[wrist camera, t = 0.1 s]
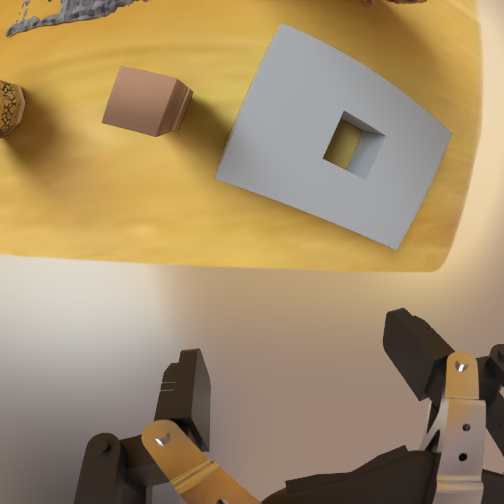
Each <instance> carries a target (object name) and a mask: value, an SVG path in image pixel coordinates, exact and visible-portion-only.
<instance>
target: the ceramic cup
mask: <svg viewBox="0 0 504 504" xmlns="http://www.w3.org/2000/svg"><path fill="white" fill-rule="evenodd" d="M25 104H26V102H25V99H24V96H23V93H22V89H21V87H20V86H18V85H15V84H11V83H8V82H4V81H0V138H2V137H4V136H6V135H7V134H9V133H10V132H11V131H12V130H13V129H14V128H15V127H16V126H17V125H18V124H19V123H20V122H21V119H22V115H23V112H24V108H25Z"/></svg>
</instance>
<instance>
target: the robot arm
mask: <svg viewBox="0 0 504 504" xmlns="http://www.w3.org/2000/svg"><path fill="white" fill-rule="evenodd" d="M383 346H384V350H385V352H386V353H387V355H388V356H389V358H390V359H391V361H392V362H393V363H394V365H395V366H396V368H397V369H398V371H399V372H400V373H401V375H402V376H403V378H404V379H405V381H406V382H407V384H408V385H409V387H410V388H411V389H412V391H413V392H414V394H415V395H416V397H417V398H418V400H419V401H422V400H423V399H426V398H428V397H429V398H430V400H431V401H430V404H429V408H428V414H427V420H426V425H425V430H424V435H423V439H422V442H421V445H420V447H419V449H418V450H413V451H408V450H407V448H406V446H405V445H403V446H401V447H399V448H396V449H394V450H392V451H389V452H387V453H384V454H381V455H379V456H377V457H376V458H374V459H372V460H371V461H369V462H368V463H366V464H365V465H363V466H361V467H359V468H358V469H356V470H354V471H352V472H348V473H335V474H316V475H313V476H308V477H304V478H298V479H293V480H288V481H285V482H286V488H284V489H281V490H279V491H277V492H275V493H273V494H271V495H270V496H268V497H267V498H265V499H264V500H263V501H262V502H260V501H259V500H257V499H256V498H255V497H254V496H252V495H251V494H250V493H249V492H248V491H246V490H245V489H244V488H243V487H242V486H241V485H239V484H238V483H237V482H236V481H235V480H234V479H233V478H232V477H231V476H229V475H228V474H227V473H226V472H225V471H224V470H223V469H222V468H221V467H220V466H219V465H217V464H216V463H215V462H212V461H210V460H209V459H208V458H207V457H206V456H205V455H204V454H203V453H202V452H204V451H209V438H210V437H209V435H210V393H211V391H210V390H211V386H210V378H209V375H208V371H207V368H206V366H205V362H204V359H203V356H202V353H201V350H200V349H199V348H198V349H189V350H182V351H181V353H180V358H179V363H171V364H170V365H169V367H168V368H167V369H166V371H165V372H164V375H163V380H162V384H161V389H160V390H161V392H160V394H159V398H158V403H157V408H156V413H155V419H154V422H152V423H150V424H149V425H148V426H147V427H146V428H145V429H144V430H143V433H142V434H141V435H138V436H135V437H131V438H127V439H122V440H118V438H117V437H116V436H114V435H113V434H110V433H101V434H98V435H96V436H94V437H93V438H91V440H90V441H89V442H88V444H87V448H86V451H85V455H84V460H83V463H82V467H81V472H80V476H79V481H78V485H77V490H76V496H75V501H74V504H152V486H154V485H158V484H163V483H167V482H171V483H172V484H173V486H174V488H175V490H176V491H177V492H178V493H179V495H180V496H181V497H182V498H183V499H184V500H185V501H186V503H187V504H504V472H503V474H499V473H495V472H492V471H488V470H484V469H482V466H483V457H484V446H485V428H487V430H488V431H489V433H490V434H491V436H492V438H493V439H494V441H495V442H496V444H497V446H498V448H499V449H500V451H501V453H502V455H503V456H504V398H503V396H502V395H501V394H500V390H501V388H502V386H503V387H504V344H498V345H495V346H493V348H492V349H491V351H490V354H489V356H485V357H480V358H475V357H473V356H472V355H471V354H470V353H467V352H463V351H457V352H455V351H454V350H453V349H452V348H451V347H450V346H449V345H448V344H447V343H446V342H445V341H444V340H443V339H442V337H441V336H440V335H439V334H436V332H435V330H434V329H433V328H431V326H430V325H429V324H428V323H427V322H425V320H423V319H421V318H418V317H417V316H412V315H411V314H410V313H409V312H408V311H407V310H406V309H404V308H400V309H397V310H393V311H390V312H388V313H387V315H386V321H385V328H384V335H383Z"/></svg>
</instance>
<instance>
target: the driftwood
mask: <svg viewBox="0 0 504 504" xmlns="http://www.w3.org/2000/svg"><path fill="white" fill-rule="evenodd" d="M48 1H49V2H50V1H51V0H48ZM134 1H138V0H61V4H62V5H61V10H60V13H58V14H56V15H51V16H47V17H46V18H44V19H43V20H42V21H40V19H39V18H37V17H35V16H32V17H31V18H30V19H28V20H25V19H24V17H25V15H26V13H27V9H28V8H27V9H26V10H25V12H24V15H23V17H22V20H21V21H20V22H19V23H16V24H14V23H13V25H12V26H11V27H10V28H9V29H8V31H7V32H6V37H8V36H10V35H13V34H15V33H18V32H20V31H26V30H28V29H31V28H32V29H33V28H36V27H38V26H44V25H54V24H57V23H58V24H59V23H62V22H71V21H77V20H86V19H92V18H99V17H106V16H108V15H109V14H110V13H114V12H115V11H116V9H117V7H124V6H125V5H128V6H129V5H130V4H132V3H133V2H134ZM143 1H144V2H147V0H143ZM29 2H30V0H28V1H26V2H25V3H24V4H26V6H27V5H28V4H29ZM24 4H23V5H24ZM23 5H22V8H23ZM19 14H20V13H19ZM16 22H17V21H16Z"/></svg>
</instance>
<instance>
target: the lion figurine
mask: <svg viewBox="0 0 504 504" xmlns="http://www.w3.org/2000/svg"><path fill="white" fill-rule="evenodd" d="M387 1H388V2H394V3H396V4H407V3H408V4H413V3H423V2H426V1H427V0H387ZM362 3H363V4H364V5H365V6H370V5H371V3H372V2H371V1H370V0H362Z"/></svg>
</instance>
